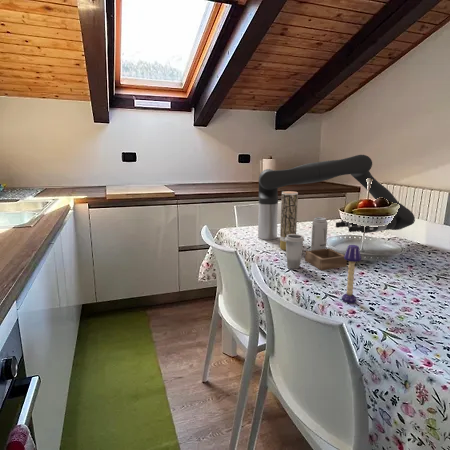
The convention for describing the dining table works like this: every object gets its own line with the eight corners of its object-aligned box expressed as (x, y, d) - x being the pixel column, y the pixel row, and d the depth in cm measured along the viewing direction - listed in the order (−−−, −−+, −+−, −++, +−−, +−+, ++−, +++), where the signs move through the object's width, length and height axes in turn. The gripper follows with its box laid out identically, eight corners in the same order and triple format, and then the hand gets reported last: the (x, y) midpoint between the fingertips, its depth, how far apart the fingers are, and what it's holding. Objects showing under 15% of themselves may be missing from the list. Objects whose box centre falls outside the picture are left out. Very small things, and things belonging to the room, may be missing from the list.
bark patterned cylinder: (295, 251, 147) (298, 193, 141) (279, 250, 149) (281, 193, 143) (295, 246, 154) (298, 191, 148) (280, 246, 155) (282, 191, 149)
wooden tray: (305, 260, 136) (305, 251, 135) (328, 257, 139) (329, 248, 138) (321, 270, 125) (322, 259, 125) (346, 266, 129) (347, 256, 128)
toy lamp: (338, 296, 104) (342, 243, 100) (353, 296, 104) (357, 243, 100) (345, 303, 99) (349, 248, 95) (360, 303, 100) (365, 248, 96)
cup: (304, 264, 131) (305, 234, 128) (302, 270, 125) (303, 239, 122) (285, 262, 134) (286, 233, 131) (282, 268, 127) (283, 237, 125)
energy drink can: (323, 256, 141) (325, 220, 137) (308, 253, 144) (310, 219, 140) (327, 252, 146) (329, 217, 142) (313, 250, 149) (315, 216, 145)
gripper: (362, 212, 157) (332, 215, 152) (386, 218, 144) (354, 222, 139) (361, 228, 159) (331, 231, 153) (384, 235, 146) (353, 239, 140)
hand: (342, 227), depth 146 cm, fingers open, 8 cm apart
